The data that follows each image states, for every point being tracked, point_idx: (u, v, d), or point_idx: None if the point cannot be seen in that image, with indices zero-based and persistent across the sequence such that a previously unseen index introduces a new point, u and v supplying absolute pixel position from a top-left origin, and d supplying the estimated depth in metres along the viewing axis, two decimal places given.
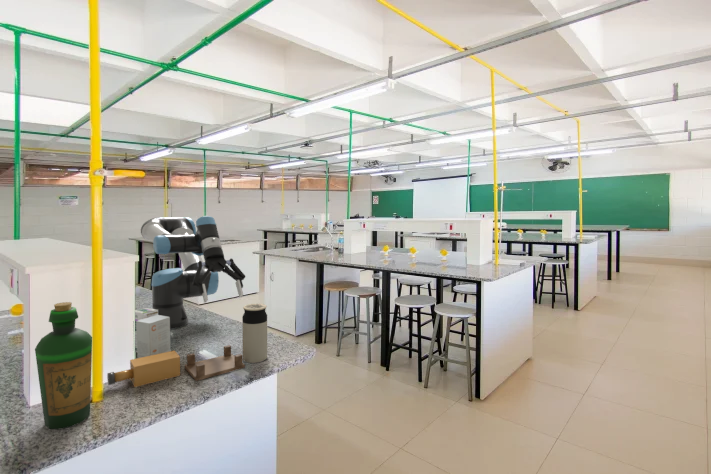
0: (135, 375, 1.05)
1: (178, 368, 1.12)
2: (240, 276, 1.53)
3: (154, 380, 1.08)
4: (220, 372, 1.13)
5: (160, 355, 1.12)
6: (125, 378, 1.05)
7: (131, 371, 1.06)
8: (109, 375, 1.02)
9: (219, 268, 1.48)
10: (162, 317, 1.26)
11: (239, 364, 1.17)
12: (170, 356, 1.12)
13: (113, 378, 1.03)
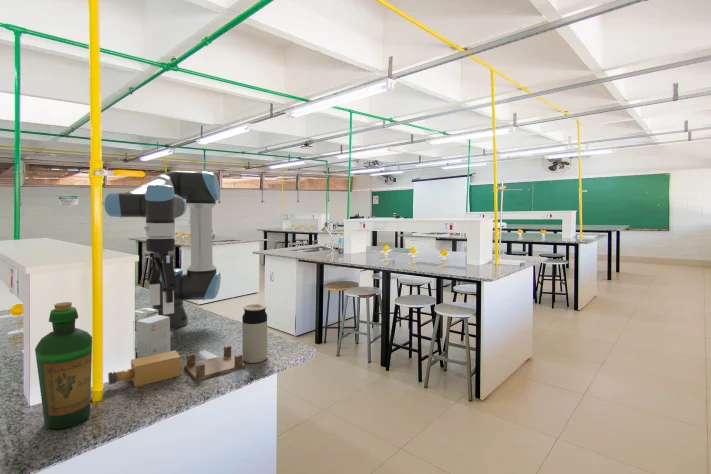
0: (136, 375, 1.05)
1: (179, 368, 1.12)
2: (173, 283, 1.04)
3: (155, 380, 1.08)
4: (220, 372, 1.13)
5: (161, 355, 1.13)
6: (126, 378, 1.05)
7: (132, 371, 1.06)
8: (110, 375, 1.03)
9: None
10: (162, 317, 1.26)
11: (239, 364, 1.17)
12: (171, 356, 1.12)
13: (114, 378, 1.03)
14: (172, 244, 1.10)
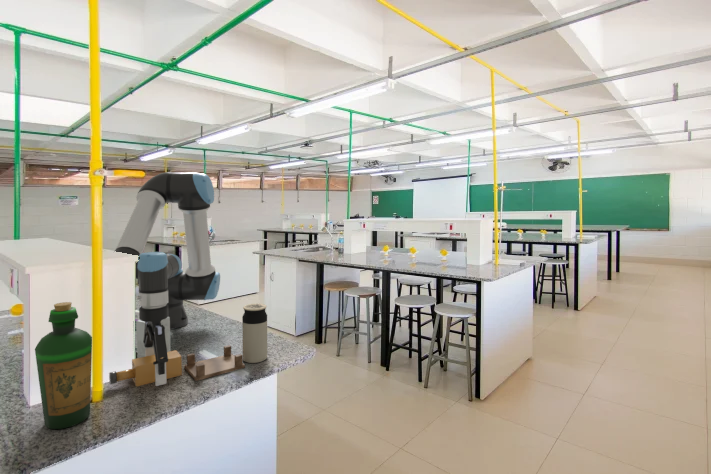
0: (137, 375, 1.05)
1: (180, 368, 1.12)
2: None
3: None
4: (220, 372, 1.13)
5: None
6: (127, 377, 1.05)
7: (133, 371, 1.06)
8: (111, 374, 1.03)
9: None
10: None
11: (239, 364, 1.17)
12: (171, 356, 1.12)
13: (115, 377, 1.03)
14: (165, 312, 1.08)
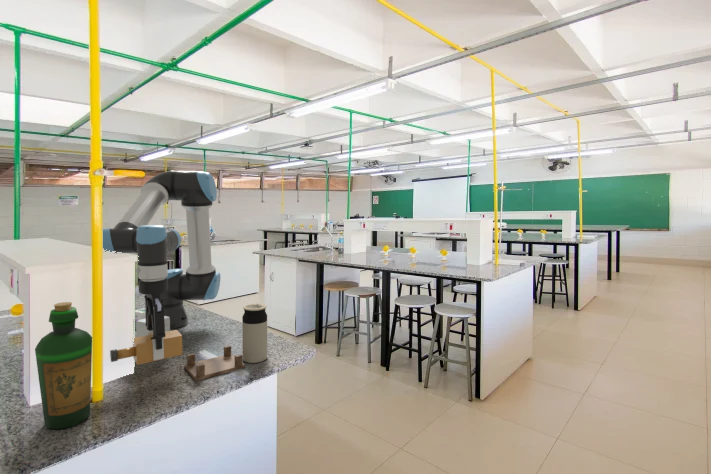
0: (137, 353, 1.05)
1: (180, 347, 1.12)
2: None
3: None
4: (220, 372, 1.13)
5: None
6: (128, 355, 1.05)
7: (134, 349, 1.06)
8: (112, 352, 1.03)
9: None
10: None
11: (239, 364, 1.17)
12: (172, 335, 1.12)
13: (116, 355, 1.03)
14: (164, 285, 1.08)
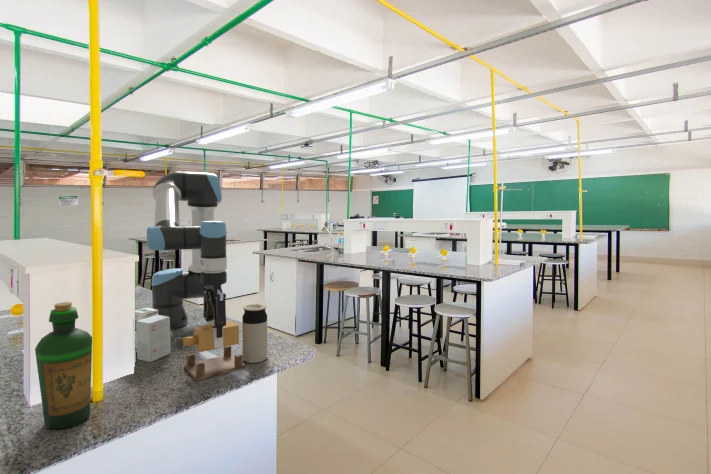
0: (200, 340, 1.11)
1: (237, 336, 1.18)
2: None
3: None
4: (220, 372, 1.13)
5: None
6: (191, 343, 1.11)
7: (196, 337, 1.13)
8: (177, 339, 1.09)
9: None
10: (162, 317, 1.26)
11: (239, 364, 1.17)
12: (230, 325, 1.18)
13: (181, 342, 1.09)
14: (224, 277, 1.15)
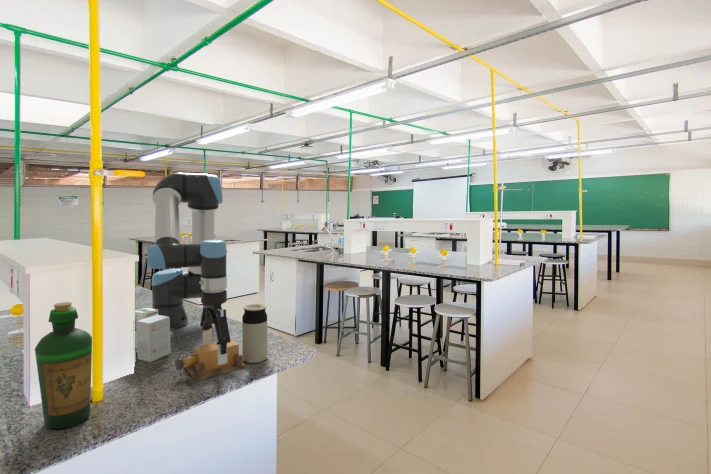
0: (200, 361, 1.12)
1: None
2: None
3: (216, 366, 1.15)
4: (220, 372, 1.13)
5: None
6: (191, 364, 1.12)
7: (196, 357, 1.13)
8: (178, 360, 1.10)
9: None
10: (162, 317, 1.26)
11: (239, 364, 1.17)
12: (229, 344, 1.19)
13: (181, 363, 1.10)
14: (225, 296, 1.15)
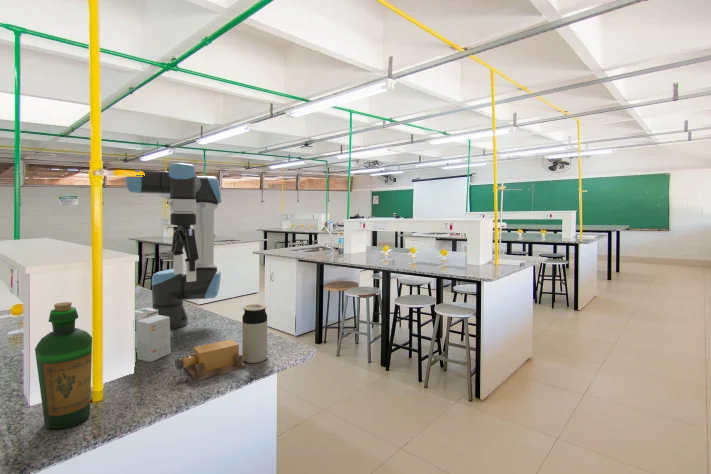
0: (200, 361, 1.12)
1: None
2: None
3: (216, 366, 1.15)
4: (220, 372, 1.13)
5: (220, 343, 1.20)
6: (191, 364, 1.12)
7: (196, 357, 1.13)
8: (178, 360, 1.10)
9: (181, 240, 1.20)
10: (162, 317, 1.26)
11: (239, 364, 1.17)
12: (229, 344, 1.19)
13: (181, 363, 1.10)
14: (194, 218, 1.20)
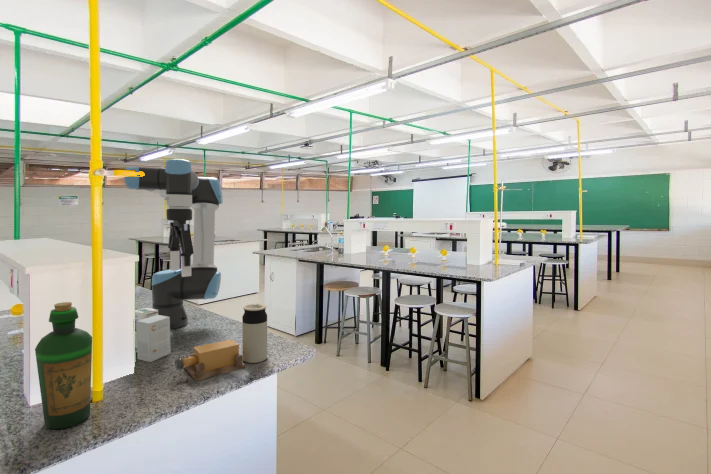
0: (200, 361, 1.12)
1: None
2: None
3: (216, 366, 1.15)
4: (220, 372, 1.13)
5: (220, 343, 1.20)
6: (191, 364, 1.12)
7: (196, 357, 1.13)
8: (178, 360, 1.10)
9: None
10: (162, 317, 1.26)
11: (239, 364, 1.17)
12: (229, 344, 1.19)
13: (181, 363, 1.10)
14: (189, 214, 1.20)
